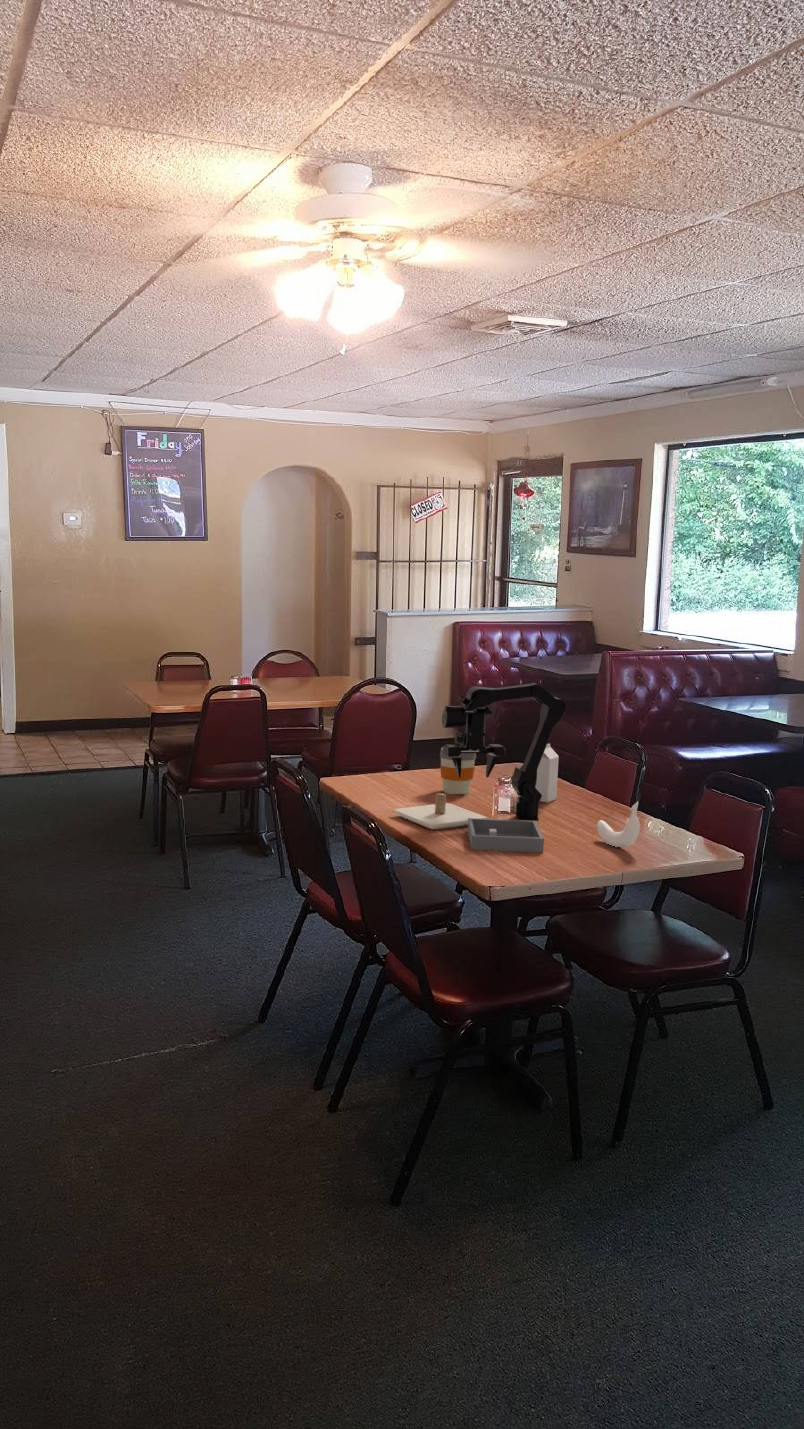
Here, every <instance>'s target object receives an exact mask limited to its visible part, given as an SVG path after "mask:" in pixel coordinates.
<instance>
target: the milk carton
mask: <svg viewBox="0 0 804 1429" xmlns="http://www.w3.org/2000/svg"><path fill="white" fill-rule="evenodd" d="M559 756H560V755H558V754H557V752H555V750H554V748H552V747H551V743H547V746H546V748H545V751H544V753H543V756H542V758H541V761H540V763H539V766H538V769H537V782H536V786H535V788H536V789H537V790H538V791H539V792H540V793H541V795H542V797H541V799H540V801H539V802H542V803H546V804H547V803H550V802H553V801H555V800H557V792H558V791H557V790H558V774H559V759H560V758H559Z"/></svg>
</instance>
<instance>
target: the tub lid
mask: <svg viewBox="0 0 804 1429" xmlns="http://www.w3.org/2000/svg"><path fill="white" fill-rule="evenodd" d="M434 802H435V804H426V805H417V806H410V807H408V806H407V807H401V808H393V809H392V813H394V814H396V815H398V816H400V818H404V819H406V820H407V819H408V820H407V821H410V822H413V823H415V824H417V825H420V826H422V827H424V828H427V829H430V828H431V829H430V830H432V829H433V831H435V830H434V829H436V830H443V829H448V828H449V829H450V828H456V827H457V828H458V827H465V826H468V818H475V819H489V817H488V816H485V815H482V814H479V813H477V812H473V811H471V810H469V809H465V808H463V807H459V806H458V805H455V804H451V803H449V802H447V793H445V792H443V793H441V792H439V793H435V801H434Z"/></svg>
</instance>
